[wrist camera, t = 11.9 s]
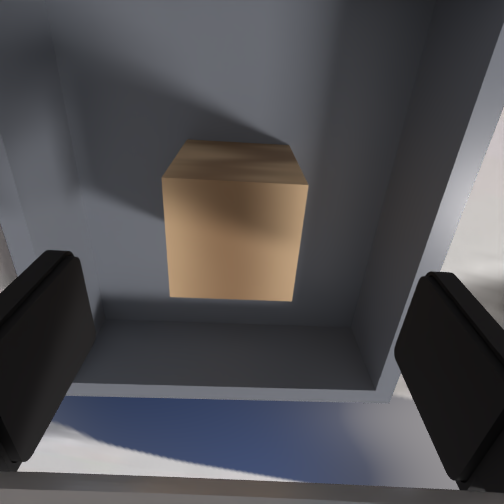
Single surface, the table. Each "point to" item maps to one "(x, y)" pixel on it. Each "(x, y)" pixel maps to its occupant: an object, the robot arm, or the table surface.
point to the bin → (246, 131)
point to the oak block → (233, 220)
